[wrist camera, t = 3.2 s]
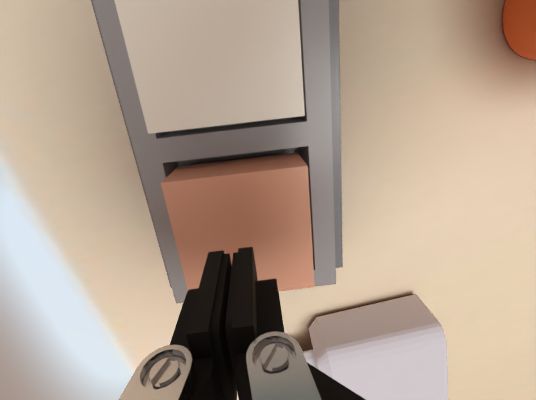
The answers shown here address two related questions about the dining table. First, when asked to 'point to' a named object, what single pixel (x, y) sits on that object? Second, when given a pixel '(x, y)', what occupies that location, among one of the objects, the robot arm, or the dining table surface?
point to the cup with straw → (521, 26)
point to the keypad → (246, 137)
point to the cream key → (213, 61)
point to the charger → (383, 350)
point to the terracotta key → (244, 216)
